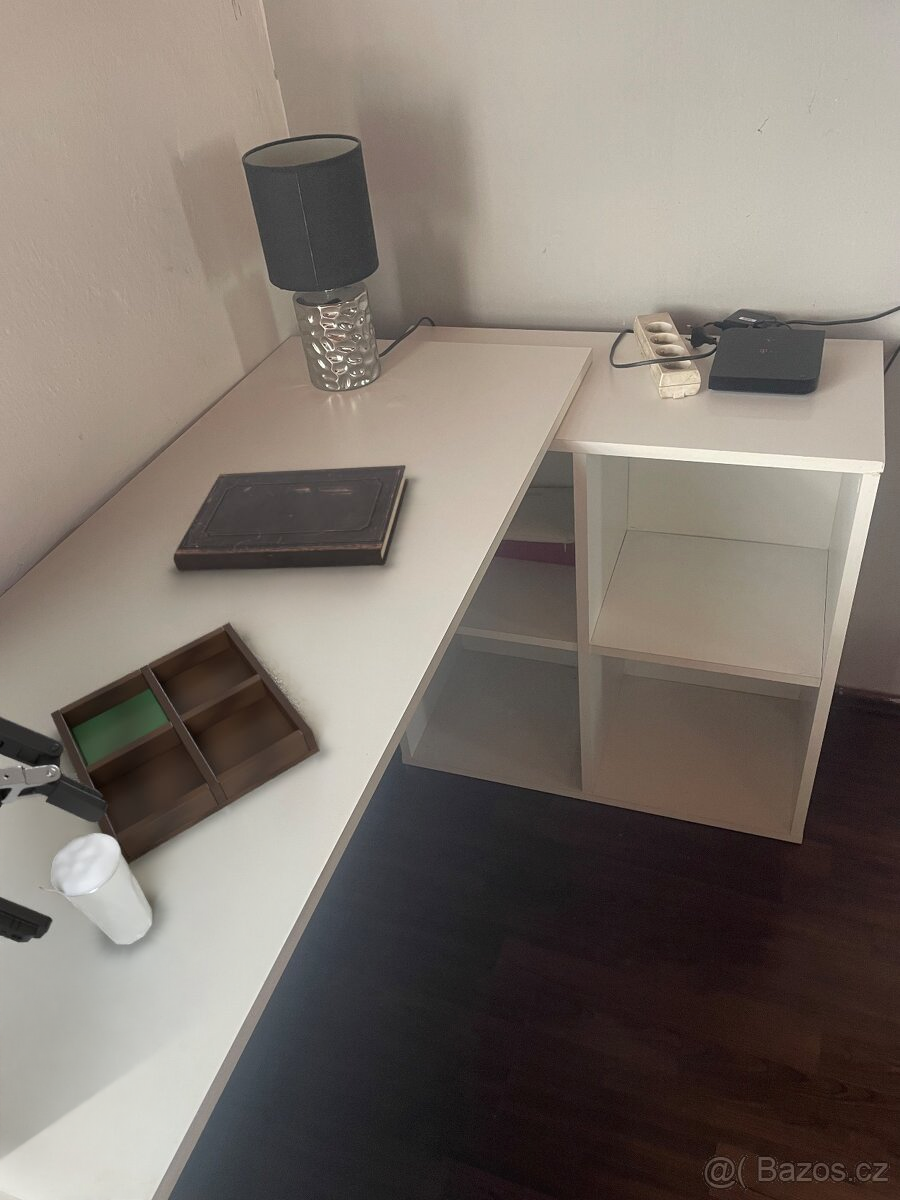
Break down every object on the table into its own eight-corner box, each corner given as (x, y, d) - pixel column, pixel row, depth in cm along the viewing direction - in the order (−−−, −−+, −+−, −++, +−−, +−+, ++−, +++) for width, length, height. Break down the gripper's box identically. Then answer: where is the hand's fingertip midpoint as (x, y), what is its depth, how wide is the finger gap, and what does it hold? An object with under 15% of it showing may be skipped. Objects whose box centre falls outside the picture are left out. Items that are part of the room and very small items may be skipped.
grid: (122, 867, 66) (108, 847, 65) (63, 733, 78) (50, 713, 76) (319, 751, 73) (312, 729, 71) (238, 642, 84) (229, 621, 82)
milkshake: (79, 954, 61) (14, 878, 55) (125, 888, 65) (69, 810, 58) (129, 973, 60) (68, 898, 53) (174, 905, 63) (122, 826, 57)
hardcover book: (225, 489, 106) (219, 473, 104) (408, 481, 102) (405, 464, 100) (178, 573, 94) (171, 557, 92) (383, 568, 90) (379, 551, 88)
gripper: (-255, 839, 44) (46, 955, 50) (-95, 643, 55) (139, 757, 60) (-272, 889, 49) (6, 991, 54) (-120, 699, 59) (100, 801, 65)
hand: (76, 868), depth 57 cm, fingers open, 8 cm apart
